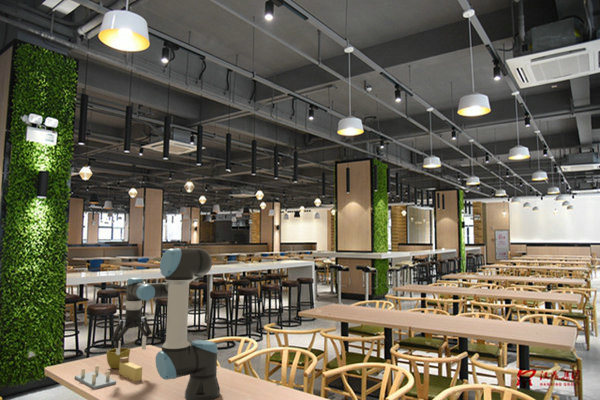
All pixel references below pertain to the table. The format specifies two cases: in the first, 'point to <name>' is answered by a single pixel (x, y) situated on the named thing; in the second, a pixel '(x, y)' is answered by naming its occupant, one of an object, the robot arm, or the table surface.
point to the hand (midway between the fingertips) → (131, 351)
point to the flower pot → (116, 357)
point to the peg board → (98, 380)
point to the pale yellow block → (130, 369)
